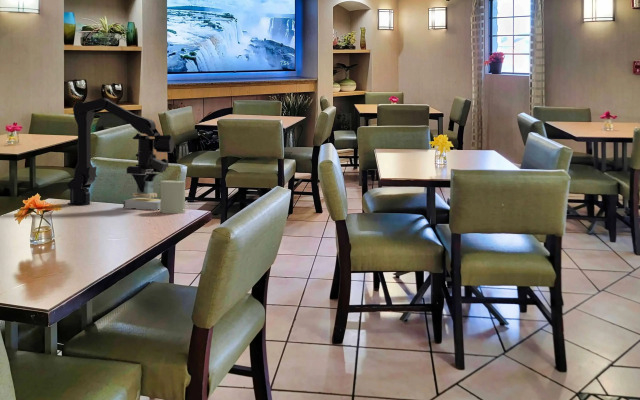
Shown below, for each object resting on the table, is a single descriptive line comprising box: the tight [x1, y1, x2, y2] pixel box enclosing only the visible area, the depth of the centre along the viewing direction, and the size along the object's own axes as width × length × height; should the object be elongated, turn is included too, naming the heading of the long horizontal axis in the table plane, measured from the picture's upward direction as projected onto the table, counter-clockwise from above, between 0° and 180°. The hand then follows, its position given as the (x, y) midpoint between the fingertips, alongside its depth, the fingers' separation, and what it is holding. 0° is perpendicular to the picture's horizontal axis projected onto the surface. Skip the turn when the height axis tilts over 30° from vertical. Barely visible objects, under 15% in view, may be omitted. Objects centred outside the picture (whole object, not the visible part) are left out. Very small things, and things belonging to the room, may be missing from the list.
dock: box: [123, 197, 161, 211], centre depth 232 cm, size 14×11×3 cm
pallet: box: [132, 181, 158, 199], centre depth 232 cm, size 7×6×6 cm
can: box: [159, 179, 186, 215], centre depth 222 cm, size 9×9×12 cm
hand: (145, 191), depth 232 cm, fingers closed on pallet, 4 cm apart
